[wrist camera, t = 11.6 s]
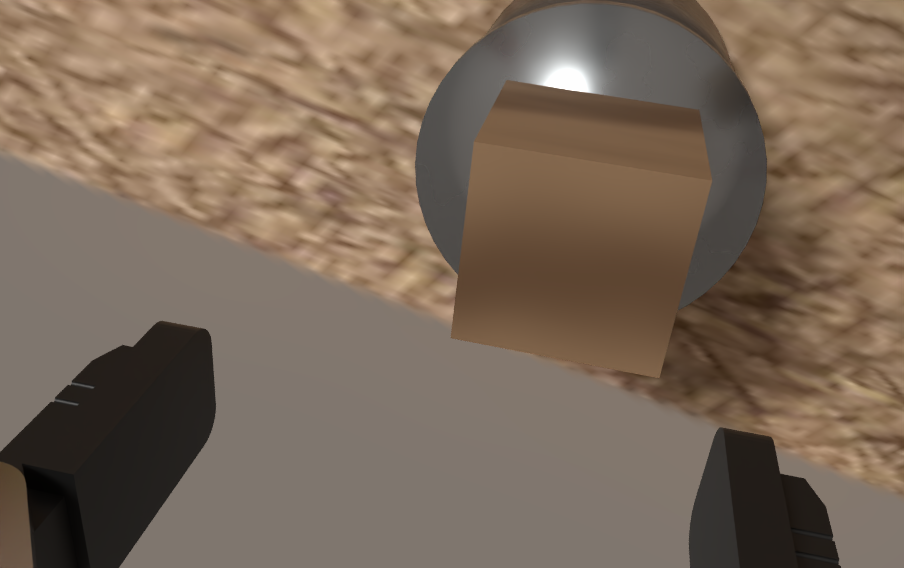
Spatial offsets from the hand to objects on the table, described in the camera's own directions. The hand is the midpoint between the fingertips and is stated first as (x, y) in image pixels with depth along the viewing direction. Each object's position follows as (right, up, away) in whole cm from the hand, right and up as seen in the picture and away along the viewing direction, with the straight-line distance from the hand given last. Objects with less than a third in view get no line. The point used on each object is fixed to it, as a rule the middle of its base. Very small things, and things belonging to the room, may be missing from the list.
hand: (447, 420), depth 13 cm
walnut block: (+4, +5, +12) cm, 14 cm away
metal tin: (+6, +9, +20) cm, 23 cm away
